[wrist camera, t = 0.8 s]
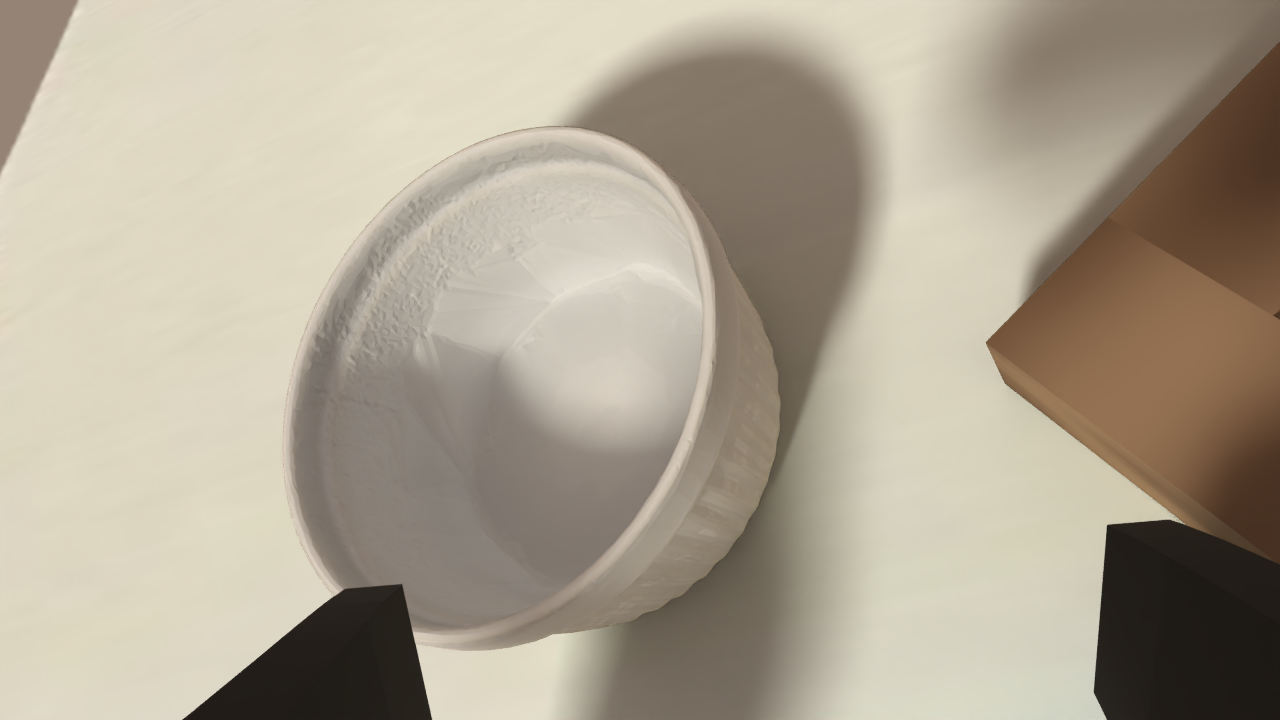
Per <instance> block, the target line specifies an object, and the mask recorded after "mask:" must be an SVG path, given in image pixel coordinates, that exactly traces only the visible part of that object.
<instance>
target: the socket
mask: <svg viewBox="0 0 1280 720" xmlns="http://www.w3.org/2000/svg"><path fill="white" fill-rule="evenodd" d="M986 344H987V346H988V349H989V351H990V353H991V355H992V357H993V359H994V361H995V363H996V365H997V368H998V370H999V372H1000V374H1001V376H1002V378H1003V380H1004V382H1005V384H1006V385H1008V386H1009V387H1010V388H1011V389H1013V390H1014V391H1015V392H1017V393H1018V394H1019V395H1020V396H1022V397H1023V398H1024V399H1026V400H1027V401H1028V402H1029V403H1031V404H1032V405H1033V406H1035V407H1036V408H1037V409H1038V410H1040V411H1041V412H1042V413H1044V414H1045V415H1046V416H1047V417H1049V418H1050V419H1051V420H1053V421H1054V422H1055V423H1056V424H1058V425H1059V426H1060V427H1062V428H1063V429H1064V430H1065V431H1067V432H1068V433H1069V434H1071V435H1072V436H1073V437H1074V438H1076V439H1077V440H1078V441H1080V442H1081V443H1082V444H1083V445H1085V446H1086V447H1087V448H1089V449H1090V450H1091V451H1092V452H1094V453H1095V454H1096V455H1098V456H1099V457H1100V458H1101V459H1103V460H1104V461H1105V462H1107V463H1108V464H1109V465H1110V466H1112V467H1113V468H1114V469H1116V470H1117V471H1118V472H1119V473H1121V474H1122V475H1123V476H1125V477H1126V478H1127V479H1128V480H1130V481H1131V482H1132V483H1134V484H1135V485H1136V486H1137V487H1139V488H1140V489H1141V490H1143V491H1144V492H1145V493H1146V494H1148V495H1149V496H1150V497H1152V498H1153V499H1154V500H1155V501H1157V502H1158V503H1159V504H1161V505H1162V506H1163V507H1164V508H1166V509H1167V510H1168V511H1170V512H1171V513H1172V514H1174V515H1175V516H1176V517H1177V518H1179V519H1180V520H1181V521H1183V522H1184V523H1185V524H1186V525H1188V526H1189V527H1192V528H1195V529H1197V530H1200V531H1203V532H1205V533H1208V534H1210V535H1213V536H1215V537H1218V538H1220V539H1223V540H1225V541H1227V542H1230V543H1232V544H1234V545H1237V546H1239V547H1241V548H1244V549H1246V550H1248V551H1251V552H1253V553H1255V554H1258V555H1260V556H1262V557H1264V558H1267V559H1269V560H1271V561H1274V562H1276V563H1278V564H1280V42H1279V43H1278V44H1277V45H1276V46H1275V47H1274V48H1273V49H1272V50H1271V51H1270V52H1269V53H1268V54H1267V55H1266V57H1265V58H1264V59H1263V60H1262V61H1261V62H1260V63H1259V64H1258V65H1257V66H1256V67H1255V68H1254V69H1253V70H1252V71H1251V72H1250V73H1249V74H1248V75H1247V76H1246V77H1245V78H1244V79H1243V80H1242V81H1241V82H1240V83H1239V84H1238V85H1237V86H1236V87H1235V88H1234V89H1233V90H1232V91H1231V92H1230V93H1229V94H1228V95H1227V96H1226V97H1225V98H1224V99H1223V100H1222V101H1221V102H1220V104H1219V105H1218V106H1217V107H1216V108H1215V109H1214V110H1213V111H1212V112H1211V113H1210V114H1209V115H1208V116H1207V117H1206V118H1205V119H1204V120H1203V121H1202V122H1201V123H1200V124H1199V125H1198V126H1197V127H1196V128H1195V129H1194V130H1193V131H1192V132H1191V133H1190V134H1189V135H1188V136H1187V137H1186V138H1185V139H1184V140H1183V141H1182V142H1181V143H1180V144H1179V145H1178V146H1177V147H1176V148H1175V150H1174V151H1173V152H1172V153H1171V154H1170V155H1169V156H1168V157H1167V158H1166V159H1165V160H1164V161H1163V162H1162V163H1161V164H1160V165H1159V166H1158V167H1157V168H1156V169H1155V170H1154V171H1153V172H1152V173H1151V174H1150V175H1149V176H1148V177H1147V178H1146V179H1145V180H1144V181H1143V182H1142V183H1141V184H1140V185H1139V186H1138V187H1137V188H1136V189H1135V190H1134V191H1133V192H1132V193H1131V194H1130V195H1129V197H1128V198H1127V199H1126V200H1125V201H1124V202H1123V203H1122V204H1121V205H1120V206H1119V207H1118V208H1117V209H1116V210H1115V211H1114V212H1113V213H1112V214H1111V215H1110V216H1109V217H1108V218H1107V219H1106V220H1105V221H1104V222H1103V223H1102V224H1101V225H1100V226H1099V227H1098V228H1097V229H1096V230H1095V231H1094V232H1093V233H1092V234H1091V235H1090V236H1089V237H1088V238H1087V239H1086V240H1085V241H1084V243H1083V244H1082V245H1081V246H1080V247H1079V248H1078V249H1077V250H1076V251H1075V252H1074V253H1073V254H1072V255H1071V256H1070V257H1069V258H1068V259H1067V260H1066V261H1065V262H1064V263H1063V264H1062V265H1061V266H1060V267H1059V268H1058V269H1057V270H1056V271H1055V272H1054V273H1053V274H1052V275H1051V276H1050V277H1049V278H1048V279H1047V280H1046V281H1045V282H1044V283H1043V284H1042V285H1041V286H1040V287H1039V288H1038V290H1037V291H1036V292H1035V293H1034V294H1033V295H1032V296H1031V297H1030V298H1029V299H1028V300H1027V301H1026V302H1025V303H1024V304H1023V305H1022V306H1021V307H1020V308H1019V309H1018V310H1017V311H1016V312H1015V313H1014V314H1013V315H1012V316H1011V317H1010V318H1009V319H1008V320H1007V321H1006V322H1005V323H1004V324H1003V325H1002V326H1001V327H1000V328H999V329H998V330H997V331H996V332H995V333H994V334H993V335H992V337H991V338H990V339H989V340H988V341H987V342H986Z"/></svg>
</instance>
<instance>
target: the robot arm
mask: <svg viewBox="0 0 1280 720" xmlns="http://www.w3.org/2000/svg"><path fill="white" fill-rule="evenodd" d="M1094 694H1095V696H1096V698H1097V700H1098V702H1099V704H1100V706H1101V708H1102V710H1103V712H1104V714H1105V716H1106V718H1107V720H1280V564H1278V563H1276V562H1274V561H1271V560H1269V559H1267V558H1264V557H1262V556H1260V555H1258V554H1255V553H1253V552H1251V551H1248V550H1246V549H1244V548H1241V547H1239V546H1237V545H1234V544H1232V543H1230V542H1227V541H1225V540H1223V539H1220V538H1218V537H1215V536H1213V535H1210V534H1208V533H1205V532H1203V531H1200V530H1197V529H1195V528H1192V527H1189V526H1187V525H1184V524H1181V523H1178V522H1175V521H1172V520H1159V521H1147V522H1135V523H1123V524H1111V525H1107V533H1106V546H1105V558H1104V571H1103V583H1102V596H1101V608H1100V621H1099V633H1098V646H1097V658H1096V671H1095V683H1094ZM183 720H432V717H431V713H430V708H429V704H428V699H427V695H426V690H425V685H424V681H423V676H422V672H421V667H420V663H419V658H418V653H417V649H416V644H415V640H414V635H413V631H412V626H411V621H410V617H409V612H408V608H407V603H406V599H405V594H404V589H403V585H402V584H395V585H383V586H371V587H360V588H348V589H344V590H342V591H341V592H340V593H338V594H337V595H335V596H334V597H333V598H331V599H330V600H328V601H327V602H326V603H324V604H323V605H322V606H321V607H319V608H318V609H317V610H316V611H314V612H313V613H312V614H311V615H309V616H308V617H307V618H306V619H304V620H303V621H302V622H301V623H299V624H298V625H297V626H296V627H295V628H293V629H292V630H291V631H290V632H289V633H287V634H286V635H285V636H284V637H282V638H281V639H280V640H279V641H278V642H276V643H275V644H274V645H273V646H272V647H270V648H269V649H268V650H267V651H266V652H264V653H263V654H262V655H261V656H260V657H258V658H257V659H256V660H255V661H254V662H252V663H251V664H250V665H249V666H248V667H246V668H245V669H244V670H243V671H241V672H240V673H239V674H238V675H237V676H235V677H234V678H233V679H232V680H231V681H229V682H228V683H227V684H226V685H224V686H223V687H222V688H221V689H220V690H218V691H217V692H216V693H215V694H213V695H212V696H211V697H210V698H209V699H207V700H206V701H205V702H204V703H202V704H201V705H200V706H199V707H198V708H196V709H195V710H194V711H193V712H192V713H190V714H189V715H188V716H187V717H185V718H184V719H183Z"/></svg>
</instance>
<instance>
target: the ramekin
mask: <svg viewBox="0 0 1280 720" xmlns="http://www.w3.org/2000/svg"><path fill="white" fill-rule="evenodd" d="M778 380H779V378H778V371H777V368H776V366H775V363H774V356H773V349H772V346H771V343H770V341H769V339H768V337H767V335H766V333H765V328H764V325H763V322H762V320H761V317H760V316H759V314H758V312H757V310H756V309H755V307H754V305H753V304H752V302H751V300H750V299H749V297H748V295H747V293H746V291H745V290H744V288H743V286H742V284H741V283H740V281H739V279H738V278H737V276H736V274H735V272H734V271H733V269H732V268H731V266H730V265H729V262H728V259H727V256H726V253H725V250H724V248H723V246H722V243H721V241H720V239H719V237H718V235H717V233H716V231H715V229H714V227H713V226H712V224H711V222H710V221H709V219H708V217H707V216H706V214H705V212H704V211H703V210H702V208H701V207H700V206H699V204H698V203H697V202H696V200H695V199H694V198H693V197H692V195H691V194H690V193H689V192H688V191H687V190H686V189H685V188H684V187H683V186H682V185H681V184H680V183H679V182H678V181H677V180H676V179H675V178H674V177H673V176H672V175H671V174H669V173H668V172H667V171H666V170H665V169H664V168H663V167H662V166H661V165H660V164H659V163H657V162H656V161H655V160H654V159H653V158H651V157H650V156H648V155H647V154H646V153H644V152H643V151H641V150H640V149H638V148H636V147H635V146H633V145H631V144H629V143H627V142H625V141H623V140H621V139H618V138H616V137H614V136H611V135H608V134H605V133H602V132H598V131H594V130H590V129H586V128H579V127H569V126H565V127H560V126H547V127H537V128H529V129H523V130H518V131H513V132H509V133H505V134H502V135H498V136H495V137H492V138H489V139H486V140H484V141H481V142H478V143H476V144H473V145H471V146H469V147H467V148H465V149H463V150H461V151H459V152H457V153H455V154H454V155H452V156H450V157H448V158H446V159H445V160H443V161H441V162H440V163H438V164H437V165H435V166H434V167H432V168H431V169H429V170H428V171H426V172H425V173H423V174H422V175H421V176H419V177H418V178H417V179H415V180H414V181H413V182H411V183H410V184H409V185H408V186H407V187H405V188H404V189H403V190H402V191H401V192H400V193H399V194H397V195H396V196H395V197H394V198H393V199H392V200H391V201H390V202H389V203H388V204H386V205H385V206H384V208H383V209H382V210H381V211H380V212H379V213H378V214H377V215H376V216H375V217H374V218H373V220H372V221H371V222H370V223H369V224H368V225H367V226H366V227H365V229H364V230H363V231H362V232H361V234H360V235H359V236H358V237H357V239H356V240H355V241H354V242H353V244H352V245H351V246H350V248H349V249H348V251H347V252H346V254H345V255H344V257H343V258H342V260H341V261H340V263H339V264H338V266H337V267H336V269H335V271H334V272H333V274H332V275H331V277H330V279H329V281H328V283H327V284H326V286H325V288H324V290H323V292H322V293H321V295H320V298H319V299H318V301H317V303H316V305H315V307H314V310H313V312H312V314H311V317H310V319H309V321H308V324H307V326H306V329H305V332H304V335H303V337H302V340H301V343H300V346H299V349H298V352H297V355H296V358H295V362H294V366H293V370H292V375H291V379H290V383H289V388H288V393H287V399H286V406H285V415H284V428H283V468H284V479H285V488H286V493H287V499H288V503H289V508H290V512H291V517H292V519H293V522H294V526H295V529H296V532H297V535H298V537H299V540H300V543H301V546H302V548H303V550H304V552H305V554H306V556H307V558H308V560H309V561H310V563H311V565H312V567H313V569H314V570H315V572H316V574H317V576H318V577H319V578H320V580H321V581H322V582H323V584H324V585H325V586H326V588H327V589H328V590H329V591H330V592H331V594H332V595H333V596H335V595H337V594H338V593H340V592H341V591H342V590H344V589H348V588H360V587H371V586H383V585H395V584H402V585H403V589H404V594H405V599H406V603H407V608H408V612H409V617H410V621H411V626H412V631H413V635H414V640H415V644H418V645H424V646H431V647H437V648H443V649H451V650H460V651H484V650H495V649H502V648H509V647H514V646H518V645H522V644H526V643H530V642H534V641H537V640H540V639H543V638H545V637H547V636H550V635H552V634H562V633H573V632H579V631H585V630H591V629H597V628H602V627H607V626H609V625H615V624H621V623H625V622H630V621H633V620H635V619H636V618H638V617H640V616H641V615H642V614H643V613H647V612H652V611H655V610H658V609H660V608H661V607H663V606H664V605H665V604H666V603H667V602H668V601H670V600H671V599H673V598H677V597H680V596H681V595H683V594H684V593H686V591H687V590H688V589H689V588H690V587H691V586H692V585H693V583H695V582H696V581H698V580H700V579H702V578H704V577H705V576H706V575H707V574H708V573H709V572H710V570H711V569H712V568H713V566H714V565H715V564H716V563H717V562H718V561H720V560H721V559H722V558H724V557H725V556H726V555H727V553H728V552H729V551H730V549H731V547H732V545H733V543H734V542H735V541H736V540H737V539H738V538H739V537H740V535H741V534H742V533H743V532H744V529H745V527H746V525H747V522H748V520H749V519H750V517H751V515H752V514H753V513H754V512H755V511H756V509H757V507H758V505H759V501H760V498H761V495H762V493H763V491H764V489H765V487H766V485H767V483H768V479H769V474H770V470H771V467H772V464H773V461H774V458H775V456H776V445H777V440H778V436H779V432H780V422H779V414H780V406H781V401H780V396H779V393H778Z"/></svg>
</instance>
